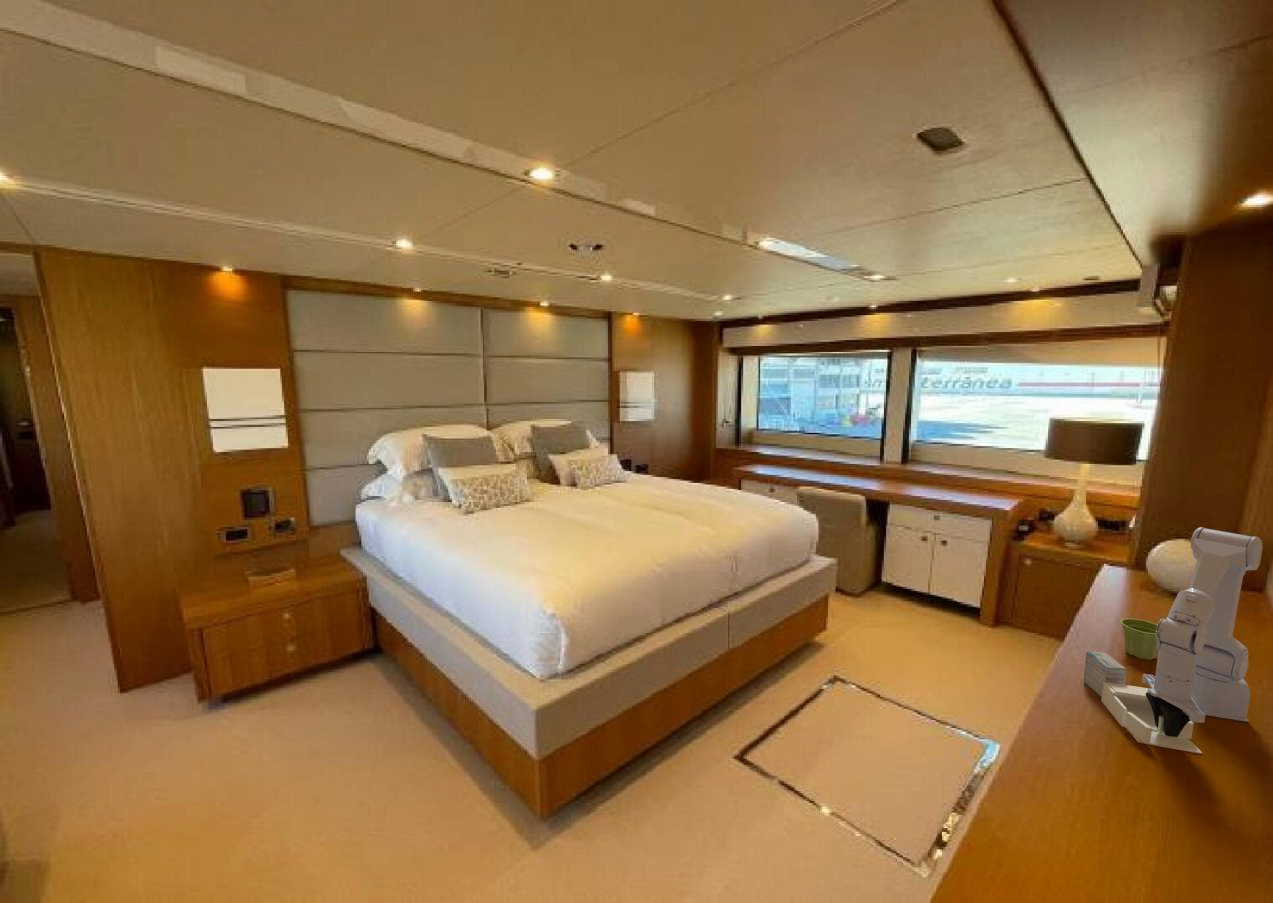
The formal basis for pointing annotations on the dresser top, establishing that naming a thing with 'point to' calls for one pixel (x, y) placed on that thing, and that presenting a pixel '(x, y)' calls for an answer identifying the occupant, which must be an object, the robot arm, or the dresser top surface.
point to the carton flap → (1184, 733)
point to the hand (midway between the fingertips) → (1166, 731)
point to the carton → (1139, 716)
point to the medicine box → (1102, 671)
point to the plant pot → (1140, 638)
